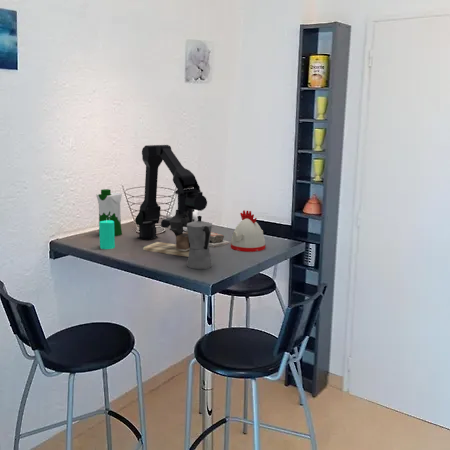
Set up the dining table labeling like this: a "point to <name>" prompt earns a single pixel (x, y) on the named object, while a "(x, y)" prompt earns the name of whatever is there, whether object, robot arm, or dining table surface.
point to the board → (165, 249)
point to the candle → (107, 234)
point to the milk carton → (110, 208)
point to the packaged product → (216, 240)
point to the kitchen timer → (248, 235)
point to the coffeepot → (199, 244)
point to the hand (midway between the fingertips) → (185, 246)
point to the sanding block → (182, 242)
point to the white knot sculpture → (193, 218)
